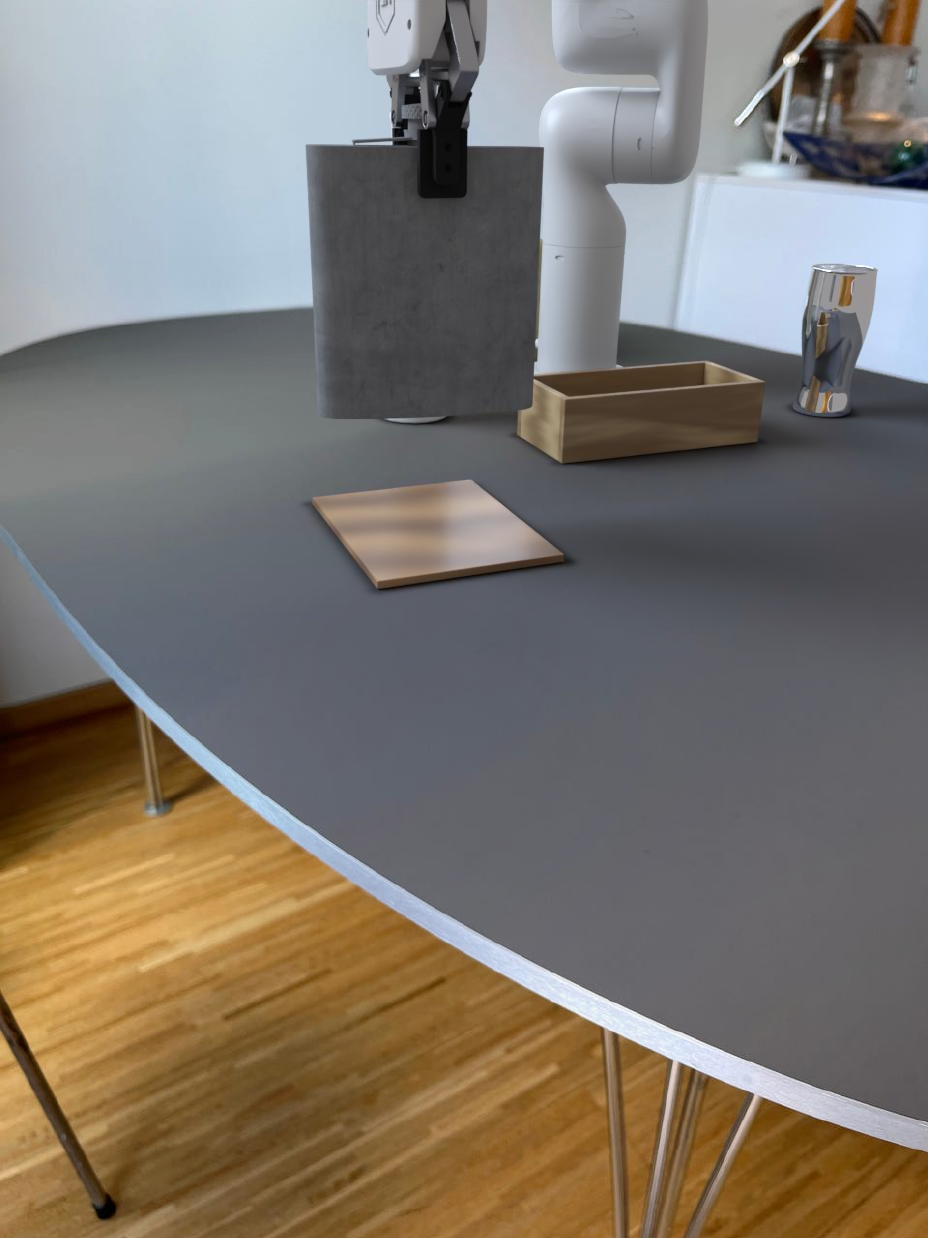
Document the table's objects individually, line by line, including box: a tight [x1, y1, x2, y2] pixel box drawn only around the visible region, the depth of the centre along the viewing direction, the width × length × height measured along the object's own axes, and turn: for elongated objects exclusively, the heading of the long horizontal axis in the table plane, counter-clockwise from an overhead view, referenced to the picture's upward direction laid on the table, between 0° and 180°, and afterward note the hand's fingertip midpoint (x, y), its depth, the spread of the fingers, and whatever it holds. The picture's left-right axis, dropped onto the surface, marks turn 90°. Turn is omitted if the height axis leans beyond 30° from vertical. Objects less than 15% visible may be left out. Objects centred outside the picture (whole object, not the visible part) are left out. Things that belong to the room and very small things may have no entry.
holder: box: [516, 360, 767, 464], centre depth 101 cm, size 10×22×6 cm, turn 111°
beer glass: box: [792, 263, 879, 418], centre depth 110 cm, size 7×7×15 cm
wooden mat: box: [311, 479, 565, 590], centre depth 79 cm, size 18×14×1 cm
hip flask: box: [305, 103, 544, 420], centre depth 71 cm, size 16×4×20 cm, turn 104°
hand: (428, 191), depth 69 cm, fingers closed on hip flask, 4 cm apart
